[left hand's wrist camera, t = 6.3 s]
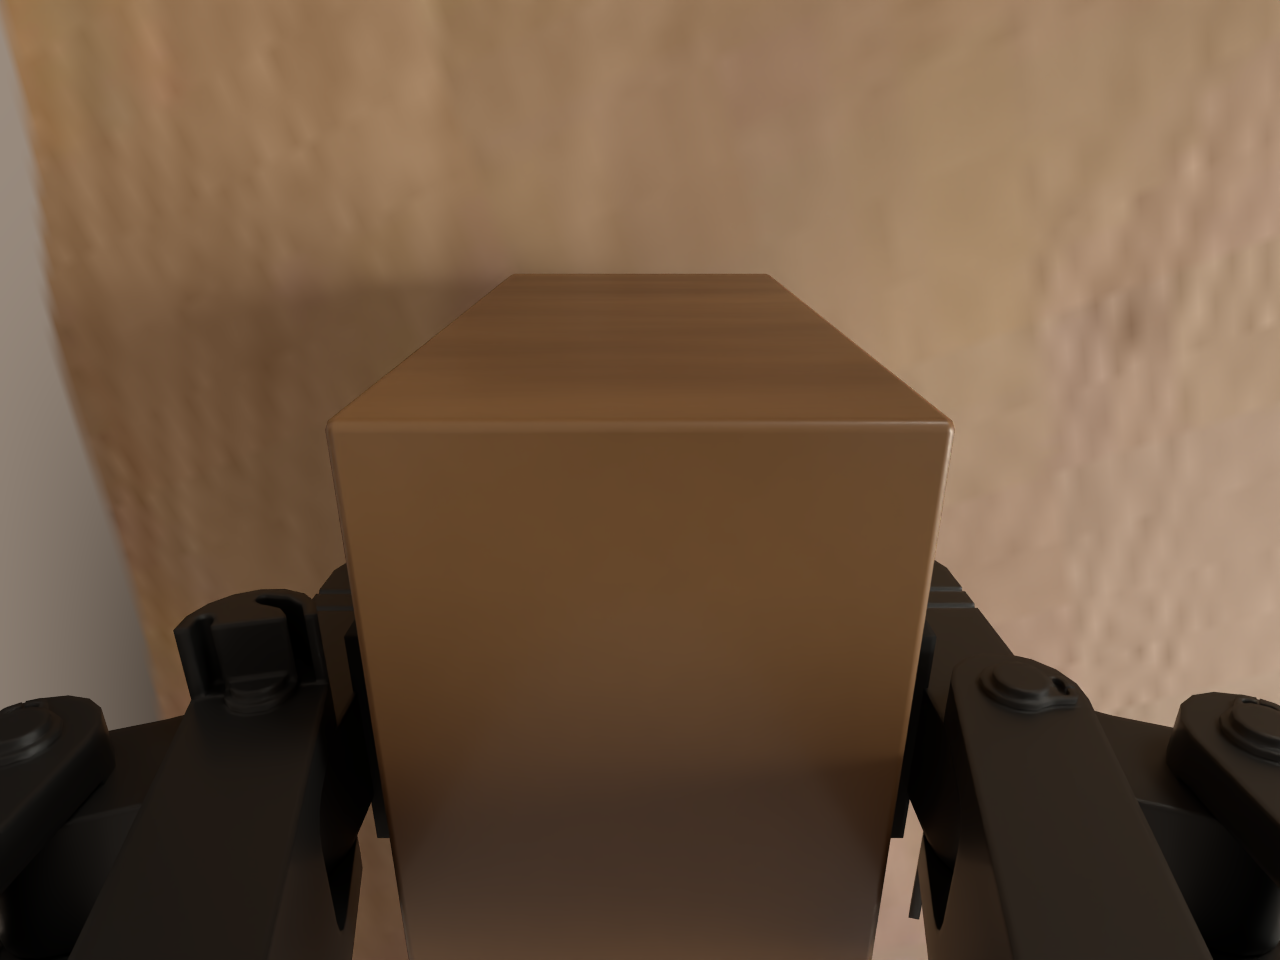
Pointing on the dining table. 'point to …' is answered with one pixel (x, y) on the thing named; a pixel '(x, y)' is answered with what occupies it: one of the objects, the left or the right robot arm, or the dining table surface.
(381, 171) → the dining table surface
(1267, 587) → the dining table surface
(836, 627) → the post
